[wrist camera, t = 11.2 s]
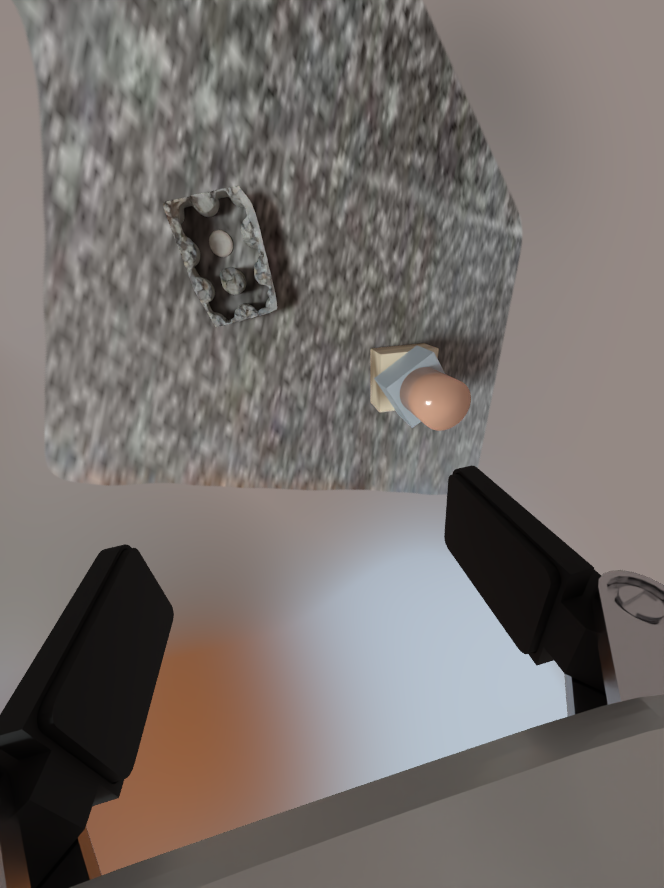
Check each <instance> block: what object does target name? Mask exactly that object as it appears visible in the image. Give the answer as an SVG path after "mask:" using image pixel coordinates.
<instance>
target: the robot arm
mask: <svg viewBox="0 0 664 888" xmlns="http://www.w3.org/2000/svg"><path fill="white" fill-rule="evenodd" d="M444 537H445V543H446V545H447V547H448V549H449V551H450V552H451V553H452V555H453V556H454V558H455V559H456V561H457V562H458V563H459V565H460V566H461V568H462V569H463V571H464V572H465V573H466V575H467V576H468V578H469V579H470V580H471V582H472V583H473V585H474V586H475V588H476V589H477V591H478V592H479V593H480V595H481V596H482V597H483V599H484V600H485V602H486V603H487V605H488V606H489V608H490V609H491V610H492V612H493V613H494V615H495V616H496V617H497V619H498V620H499V622H500V623H501V624H502V626H503V627H504V629H505V630H506V632H507V633H508V634H509V636H510V637H511V639H512V640H513V642H514V643H515V644H516V646H517V647H518V649H519V650H520V651H521V652H522V653H524V654H529V655H530V657H531V658H532V660H533V661H534V663H535V664H536V665H540V664H543V663H546V662H550V661H553V660H554V661H555V662H556V663H557V664H558V666H559V667H560V668H561V669H562V671H563V672H564V674H565V687H566V700H567V712H568V717H566V718H563V719H559V720H556V721H553V722H549V723H546V724H543V725H540V726H536V727H533V728H530V729H527V730H525V731H521V732H518V733H515V734H513V735H509V736H506V737H503V738H501V739H498V740H495V741H492V742H489V743H486V744H483V745H480V746H477V747H474V748H471V749H468V750H465V751H462V752H459V753H456V754H453V755H450V756H447V757H444V758H441V759H438V760H435V761H432V762H429V763H426V764H423V765H420V766H417V767H414V768H411V769H408V770H405V771H402V772H400V773H397V774H394V775H391V776H388V777H385V778H382V779H379V780H376V781H373V782H370V783H367V784H364V785H361V786H358V787H355V788H352V789H350V790H347V791H344V792H341V793H338V794H335V795H332V796H329V797H326V798H323V799H320V800H317V801H315V802H312V803H309V804H306V805H303V806H300V807H297V808H294V809H291V810H288V811H285V812H283V813H280V814H277V815H274V816H271V817H268V818H265V819H262V820H259V821H256V822H253V823H251V824H248V825H245V826H242V827H239V828H236V829H233V830H230V831H227V832H224V833H222V834H219V835H216V836H213V837H210V838H207V839H204V840H201V841H199V842H196V843H193V844H190V845H187V846H184V847H182V848H178V849H175V850H173V851H170V852H167V853H164V854H161V855H158V856H155V857H153V858H150V859H147V860H144V861H141V862H138V863H135V864H132V865H130V866H127V867H124V868H121V869H118V870H116V871H113V872H110V873H108V874H105V875H101V871H100V868H99V865H98V862H97V859H96V855H95V853H94V849H93V846H92V843H91V840H90V837H89V834H88V830H87V828H86V824H87V821H88V818H89V814H90V812H91V808H92V806H95V805H98V804H101V803H104V802H107V801H110V800H114V799H117V798H119V796H120V792H121V789H122V785H123V781H124V779H126V778H127V777H128V776H129V775H130V773H131V771H132V769H133V766H134V763H135V759H136V756H137V752H138V749H139V745H140V741H141V737H142V734H143V730H144V726H145V722H146V719H147V715H148V711H149V707H150V704H151V700H152V696H153V692H154V689H155V685H156V681H157V678H158V674H159V670H160V667H161V663H162V659H163V655H164V652H165V648H166V644H167V640H168V637H169V633H170V629H171V625H172V622H173V616H174V613H173V608H172V605H171V604H170V602H169V601H168V599H167V597H166V595H165V594H164V592H163V590H162V589H161V587H160V585H159V584H158V582H157V581H156V579H155V577H154V575H153V574H152V572H151V571H150V569H149V567H148V566H147V564H146V562H145V561H144V559H143V557H142V556H141V554H140V552H139V551H138V550H137V549H136V548H131V547H130V546H129V545H121V546H117V547H112V548H108V549H104V550H102V551H101V552H100V553H99V554H98V556H97V557H96V559H95V561H94V562H93V564H92V566H91V567H90V569H89V570H88V572H87V574H86V575H85V577H84V579H83V580H82V582H81V584H80V585H79V587H78V588H77V590H76V592H75V593H74V595H73V597H72V598H71V600H70V602H69V603H68V605H67V606H66V608H65V610H64V611H63V613H62V615H61V616H60V618H59V620H58V621H57V623H56V625H55V626H54V628H53V629H52V631H51V633H50V635H49V636H48V638H47V639H46V641H45V643H44V644H43V646H42V647H41V649H40V651H39V652H38V654H37V656H36V657H35V659H34V660H33V662H32V664H31V665H30V667H29V669H28V670H27V672H26V674H25V675H24V677H23V678H22V680H21V682H20V683H19V685H18V687H17V688H16V690H15V692H14V693H13V695H12V696H11V698H10V700H9V701H8V703H7V705H6V706H5V708H4V709H3V711H2V713H1V715H0V888H664V585H663V584H661V583H659V582H657V581H655V580H653V579H651V578H648V577H646V576H643V575H640V574H637V573H634V572H629V571H623V570H617V571H609V572H607V573H604V574H603V575H602V576H601V575H600V574H599V573H598V572H596V571H595V570H594V567H593V566H592V565H590V564H589V563H588V562H587V561H585V559H583V558H582V557H581V556H580V555H579V554H578V553H576V552H575V551H574V550H573V549H572V548H570V547H569V546H568V545H567V544H566V543H565V542H563V541H562V540H561V539H560V538H559V537H558V536H556V535H555V534H554V533H553V532H552V531H551V530H549V529H548V528H547V527H546V526H545V525H543V524H542V523H541V522H540V521H539V520H537V519H536V518H535V517H534V516H533V515H532V514H531V513H529V512H528V511H527V510H526V509H525V508H524V507H522V506H521V505H520V504H519V503H518V502H517V501H515V500H514V499H513V498H512V497H511V496H509V495H508V494H507V493H506V492H505V491H504V490H503V489H501V488H500V487H499V486H498V485H497V484H495V483H494V482H493V481H492V480H491V479H490V478H488V477H487V476H486V475H485V474H484V473H483V472H481V471H480V470H479V469H478V468H477V467H475V466H468V467H464V468H459V469H456V470H454V471H453V475H450V476H449V479H448V493H447V507H446V522H445V536H444Z"/></svg>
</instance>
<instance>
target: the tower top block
mask: <svg viewBox="0 0 664 888" xmlns="http://www.w3.org/2000/svg"><path fill="white" fill-rule="evenodd" d="M421 367H430V368H433V369H435V370H437V371H440V372H442V373H444V374H445V372H444V370H443V368H442V367H441V365H440V363H439V361H438V359H437V357H436V355H435V353H434V352H433V351H430V350H427V349H425V348H422V347H420V346H415V347H414V348H413V349H411V350H410V351H409V352H407V353H406V354H405V355H404V356H402V357H401V358H400V359H398V360H397V361H396V362H395V363H393V364H392V365H391V366H389V367H388V368H387V369H386V370H384V371H383V372H382V373H380V374H379V375H378V376H377V377H375V378H374V379H375V381H376V382H377V384H378V385H379V387H380V388H381V389H382V391H383V392H384V394H385V395H386V397H387V398H388V400H389V401H390V403H391V404H392V406H393V407H394V409H395V410H396V412H397V413H398V415H399V416H400V417H401V418H402V419H403V420H404V421H406V422H407V423H408V424H409V425H410V426H411V427H412V428H413V427H414V426H415V425H417V424H418V423H420V422H421V420H419V419H418V418H417V417H416V416H415V415H413V414H412V413H411V412H410V411H409V410H407V409H406V408H405V407H404V406H403V404H402V403H401V400H400V388H401V385H402V383H403V381H404V379H405V378H406V377H407V375H408V374H410V373H411V372H412V371H414V370H416V369H418V368H421Z"/></svg>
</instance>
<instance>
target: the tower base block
mask: <svg viewBox="0 0 664 888" xmlns="http://www.w3.org/2000/svg"><path fill="white" fill-rule="evenodd" d="M415 346H420V347H422V348H425V349H427V350H430V351H433V352H434V353H435V355H436V357H437V359H438V350H439V348H436V347H433V346H430V345H427V344H425V343H421V344H411V345H401V346H391V347H381V348H372V349H371V403H372V404H373V405H374V406H375V408H376V409H377V410H378V411H379V412H387V411H394V410H395V409H394V407H393V406H392V404H391V403H390V401H389V400H388V398H387V397H386V395H385V394H384V392H383V391H382V389H381V388H380V387H379V385H378V384H377V382H376V381H375V379H374V378H375V377H377V376H378V375H379V374H380V373H382V372H383V371H384V370H386V369H387V368H388V367H389V366H391V365H392V364H393V363H395V362H396V361H397V360H398V359H400V358H401V357H402V356H404V355H405V354H406V353H407V352H409V351H410V350H411V349H413V348H414V347H415Z"/></svg>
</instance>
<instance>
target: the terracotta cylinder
mask: <svg viewBox="0 0 664 888" xmlns="http://www.w3.org/2000/svg"><path fill="white" fill-rule="evenodd" d="M400 400H401V403H402V404H403V406H404V407H405V408H406V409H407V410H409V411H410V412H411V413H412V414H413V415H415V416H416V417H417V418H418V419H419V420H421V421H422V422H423V423H424V424H425V425H427V426H428V427H429V428H431V429H434V430H446V429H449V428H451V427H453V426H455V425H456V424H458V423H459V422H460V421H461V420H462V419H463V418H464V416H465V415H466V413H467V411H468V409H469V406H470V402H471V395H470V391H469V389H468V387H467V386H466V385H465V384H464V383H463V382H461V381H459V380H457V379H455V378H452V377H450V376H448V375H446V374H444V373H442V372H440V371H437V370H435V369H433V368H430V367H421V368H418V369H416V370H414V371H412V372H411V373H410V374H408V375H407V377H406V378H405V379H404V381H403V383H402V385H401V388H400Z"/></svg>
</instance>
